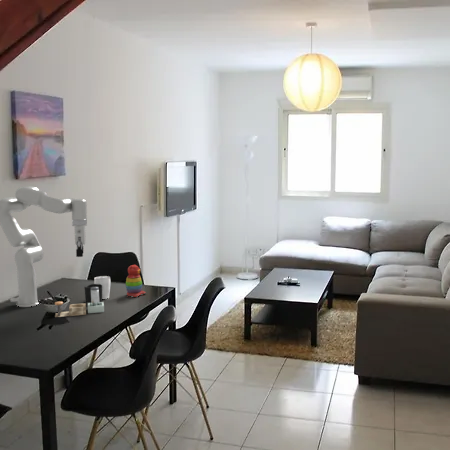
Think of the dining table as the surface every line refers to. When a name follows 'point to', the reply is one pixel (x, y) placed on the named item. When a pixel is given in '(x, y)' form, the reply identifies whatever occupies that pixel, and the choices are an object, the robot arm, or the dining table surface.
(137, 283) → the stacking bear
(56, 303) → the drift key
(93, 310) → the mint green square tray
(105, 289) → the cup
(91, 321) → the dining table surface
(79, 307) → the socket block
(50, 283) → the dining table surface
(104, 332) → the dining table surface
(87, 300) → the pen holder
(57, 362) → the dining table surface
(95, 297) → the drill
